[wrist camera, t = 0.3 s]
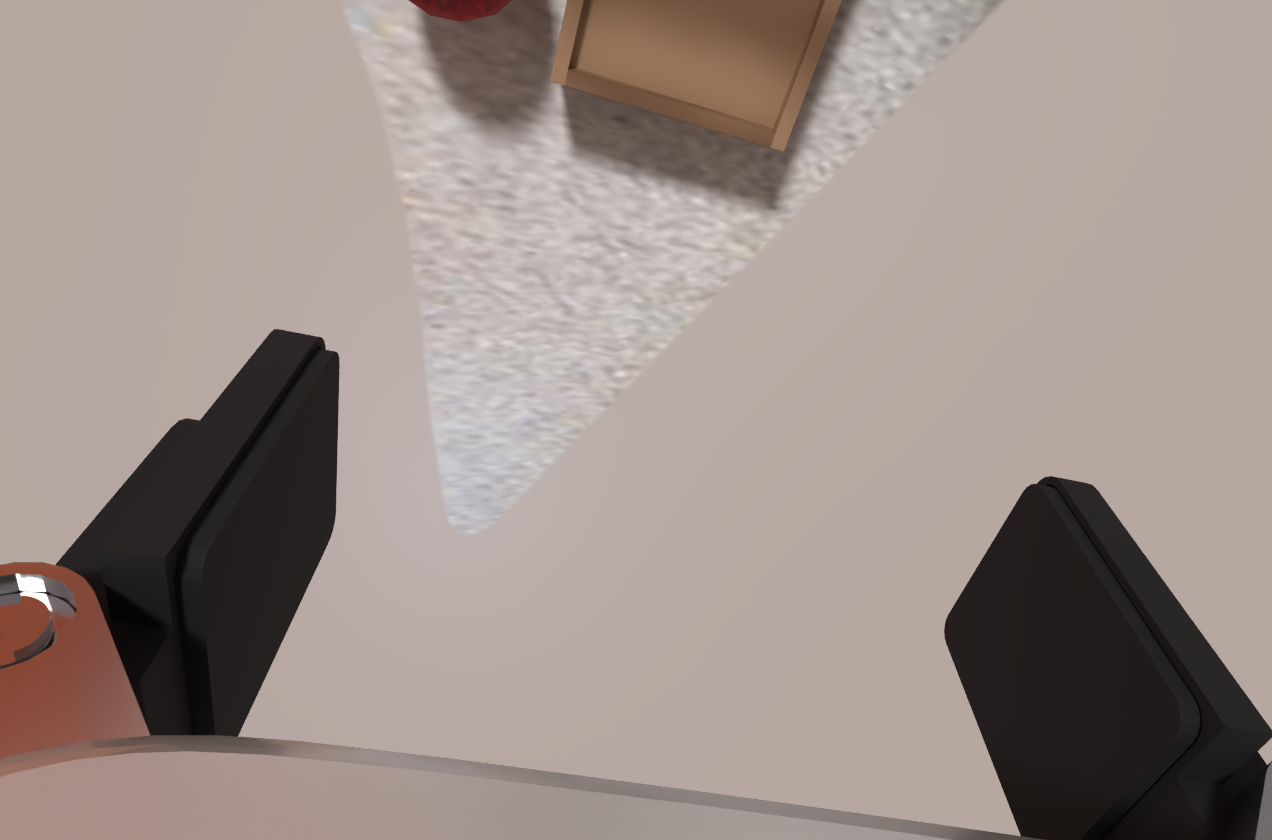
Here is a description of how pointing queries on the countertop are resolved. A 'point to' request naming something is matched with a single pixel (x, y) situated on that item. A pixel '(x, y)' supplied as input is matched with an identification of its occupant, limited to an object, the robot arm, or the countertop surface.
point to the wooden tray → (699, 59)
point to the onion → (460, 8)
